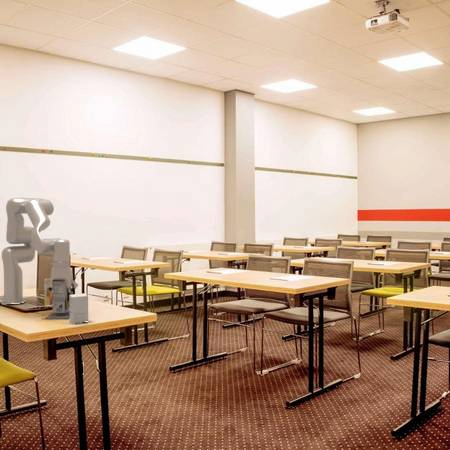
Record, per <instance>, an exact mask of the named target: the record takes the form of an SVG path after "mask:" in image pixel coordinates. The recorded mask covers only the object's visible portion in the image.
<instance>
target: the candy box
mask: <svg viewBox="0 0 450 450" xmlns="http://www.w3.org/2000/svg"><path fill="white" fill-rule="evenodd" d="M50 279H51V277H49V278H44V279H43V288H44V289H43V292H44V294H43V297H44V299H43V301H44V303H43V306H44V305H52V304H53V299H52V293H51V291H50V290H49V289H48V288H47V287H46V284H47V283H48V282H49V281H50ZM50 287H51V286H50Z"/></svg>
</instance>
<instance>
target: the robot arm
mask: <svg viewBox="0 0 450 450" xmlns="http://www.w3.org/2000/svg"><path fill="white" fill-rule="evenodd" d="M54 208H55V207H54V205H53V202H51V200H49V199H45V198H39V197H12V198H10V199H8V200H7V202H6V206H5V209H6V210H5V211H6V217H7V222H6V223H7V224H6V233H5V236H6V238H5V241H6V243H8V244H10V246H7V247H5V248H3V249H2V251H1V259H2V266H3V267H2V268H3V294H2V295H0V301H1V302H0V304H1V305H4V306H7V305H6V304H11V303H22V302H26V303H27V301H26V299H24V298H23V291H24V289H23V288H24V285H23V283H24V282H23V269H22V267H21V266H20V265H19V264H23V263H30V262H33V261H34V260H35V256H36V252H37V253H38V254H40V255H49V254H52V255H53V262H50V265H51V266H52V267H51V272H50V278H51V279H50V281H49V282H48V283H47V284H46V287H47V288H48V289H49V290H50V291H51V293H52V299H53V281H52V280H56V279H58V280H66V288H68V292H69V293H68V301H69V295H73V292H74V291H75V290H76V289H77V287H79V284H78V283H77V282H76V281H75V280H74V277H73V271H72V267H71V262H70V261H71V259H70V258H71V257H70V256H71V252H70V249H71V247H70V246H71V245H70V240H68V239H62V238H59V237H58V238H42V236H41V235H40V233H41V232H43V231H45V230H46V229H47V228H48V227H50V225H51V220H50V218H49V216H51V215H53V213H54ZM23 214H24V215H25V214H27V216H28V218H29V220H30V222H31V224H32V226H33V227H32V226H25V218H24V216H23ZM50 286H51V287H50Z"/></svg>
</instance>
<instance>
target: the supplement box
mask: <svg viewBox="0 0 450 450" xmlns="http://www.w3.org/2000/svg"><path fill="white" fill-rule="evenodd" d="M69 302H70V318H69V322H70V321H71V322H72V323H77V324H79V323H78V322H85V321H88V322H89V296H88V295H87V294H86V293H76V294H73V293H72V295H69ZM71 322H70V323H71ZM72 323H71V324H72Z"/></svg>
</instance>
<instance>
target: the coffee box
mask: <svg viewBox="0 0 450 450" xmlns="http://www.w3.org/2000/svg"><path fill="white" fill-rule="evenodd" d="M52 281H53V307H52V312H53V313H65V312H67V311H69V310H70V302H69V301H68V293H69V292H68V288H66V280H58V279H56V280H52Z"/></svg>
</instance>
